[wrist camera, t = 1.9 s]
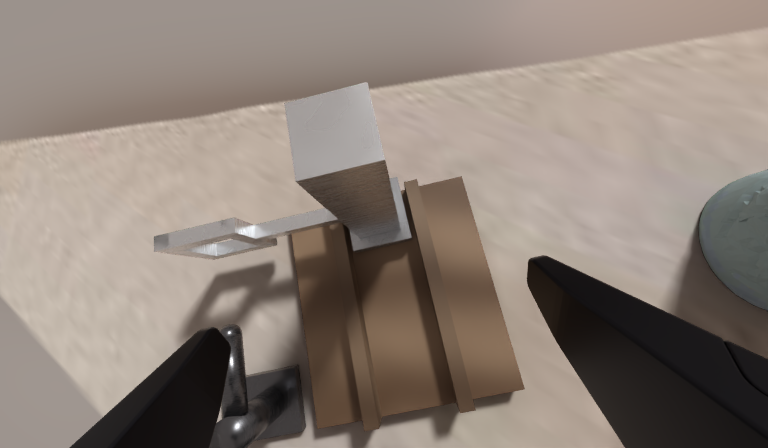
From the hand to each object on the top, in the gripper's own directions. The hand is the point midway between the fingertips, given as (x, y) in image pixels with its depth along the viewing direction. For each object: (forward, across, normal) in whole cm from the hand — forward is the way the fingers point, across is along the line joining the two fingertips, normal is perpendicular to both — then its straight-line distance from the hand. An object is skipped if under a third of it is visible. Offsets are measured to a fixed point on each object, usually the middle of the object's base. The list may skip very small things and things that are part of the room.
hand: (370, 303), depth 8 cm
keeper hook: (+6, +9, +10) cm, 15 cm away
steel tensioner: (+10, +5, +3) cm, 12 cm away
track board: (+8, 0, +8) cm, 11 cm away
